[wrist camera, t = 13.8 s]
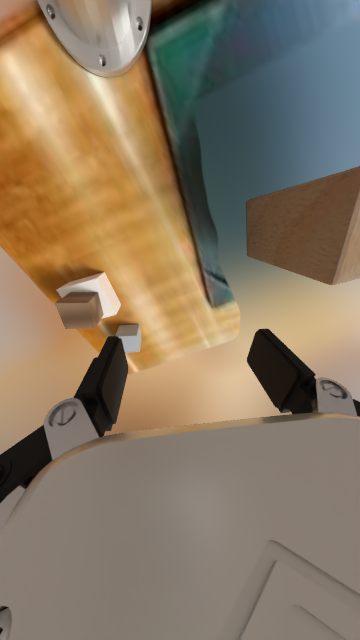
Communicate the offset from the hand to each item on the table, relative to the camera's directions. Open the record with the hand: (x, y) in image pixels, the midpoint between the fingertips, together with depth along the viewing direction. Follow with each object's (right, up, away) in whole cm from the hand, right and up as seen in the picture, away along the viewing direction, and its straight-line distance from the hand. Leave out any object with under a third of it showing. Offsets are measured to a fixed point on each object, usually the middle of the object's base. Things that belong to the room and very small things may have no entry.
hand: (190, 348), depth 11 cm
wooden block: (+17, +21, +20) cm, 34 cm away
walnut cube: (-19, +5, +20) cm, 28 cm away
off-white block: (-20, +8, +24) cm, 32 cm away
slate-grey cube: (-14, -1, +30) cm, 33 cm away
